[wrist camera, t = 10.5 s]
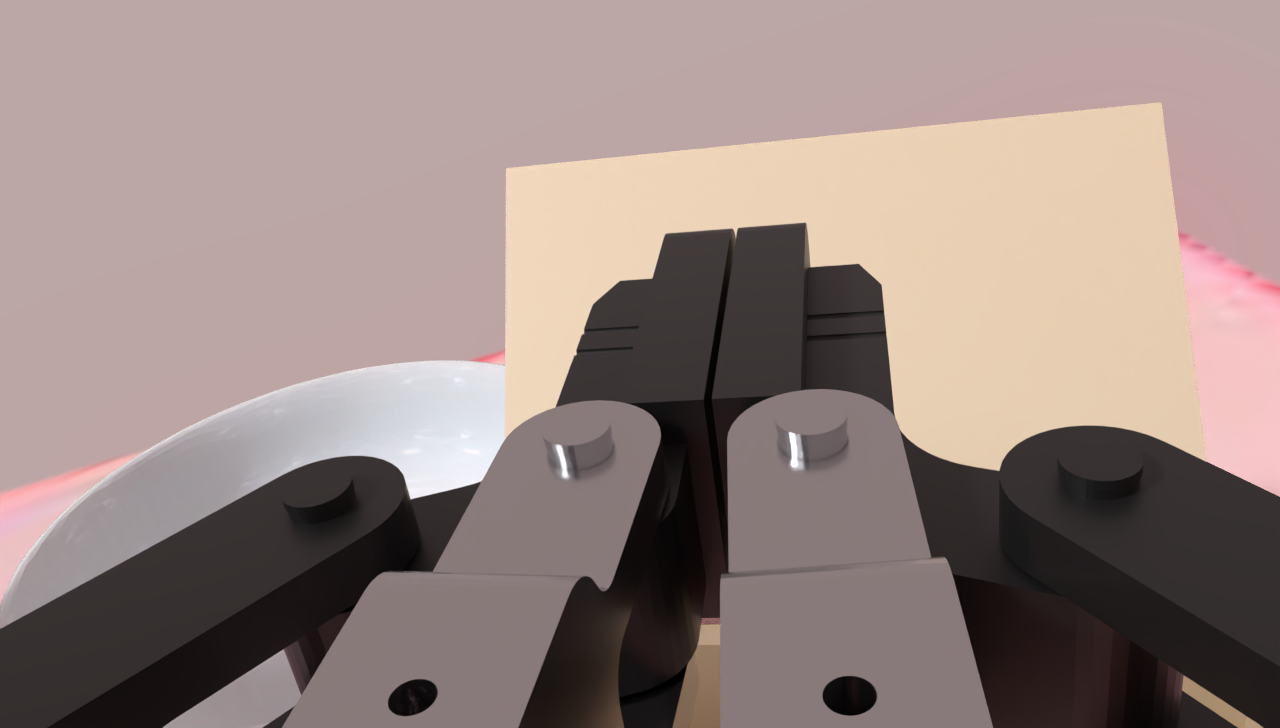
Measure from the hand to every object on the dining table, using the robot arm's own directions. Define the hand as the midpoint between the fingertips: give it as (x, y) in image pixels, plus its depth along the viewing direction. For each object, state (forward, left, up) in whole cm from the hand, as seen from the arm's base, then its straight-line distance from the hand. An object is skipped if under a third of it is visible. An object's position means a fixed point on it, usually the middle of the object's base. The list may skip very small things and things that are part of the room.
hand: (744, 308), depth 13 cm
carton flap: (-8, +7, -6) cm, 12 cm away
